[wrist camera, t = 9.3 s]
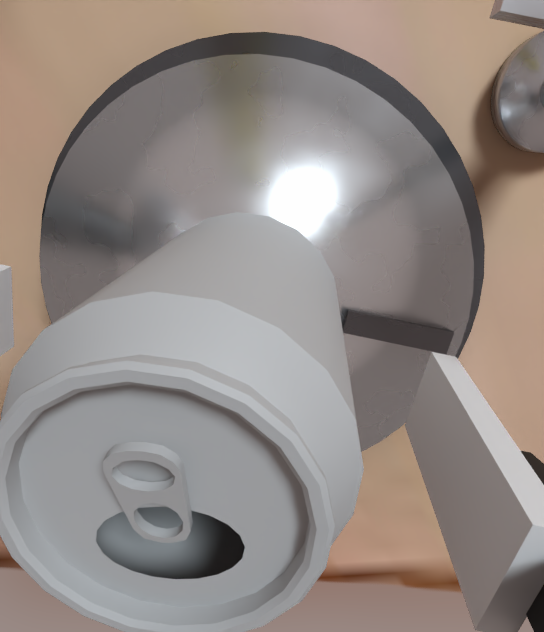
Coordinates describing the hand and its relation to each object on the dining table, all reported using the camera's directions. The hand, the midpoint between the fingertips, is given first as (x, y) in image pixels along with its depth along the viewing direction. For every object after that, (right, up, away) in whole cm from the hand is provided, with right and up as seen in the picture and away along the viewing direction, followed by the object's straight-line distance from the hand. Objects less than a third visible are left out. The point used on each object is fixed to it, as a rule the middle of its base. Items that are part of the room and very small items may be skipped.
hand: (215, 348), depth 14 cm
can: (+1, +2, +5) cm, 5 cm away
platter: (+1, +2, +6) cm, 7 cm away
